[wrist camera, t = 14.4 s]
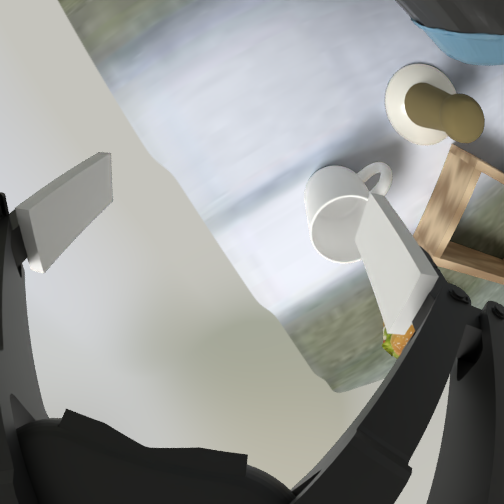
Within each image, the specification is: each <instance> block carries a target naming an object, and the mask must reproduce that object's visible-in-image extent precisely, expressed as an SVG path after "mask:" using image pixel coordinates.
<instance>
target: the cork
mask: <svg viewBox="0 0 504 504" xmlns="http://www.w3.org/2000/svg"><path fill="white" fill-rule="evenodd" d="M404 104H405V110H406V113H407V116H408V117H409V118H410V120H411V121H412V122H413V123H415V124H416V125H418V126H421V127H424V128H429V129H434V130H439V131H444V132H445V133H446V134H447V135H448V136H449V137H450V138H451V139H453V140H455V141H457V142H460V143H471V142H473V141H475V140H476V139H477V138H479V137H480V135H481V134H482V132H483V129H484V121H485V119H484V114H483V111H482V109H481V107H480V105H479V104H478V103H477V102H476V101H475V100H474V99H473V98H471V97H470V96H468V95H465V94H458V93H457V94H453V95H451V94H449V93H447V92H445V91H443V90H441V89H439V88H437V87H435V86H433V85H430V84H428V83H417V84H414V85H413V86H412V87H410V88H409V90H408V91H407V93H406V96H405V100H404Z"/></svg>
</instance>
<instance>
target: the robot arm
mask: <svg viewBox="0 0 504 504" xmlns="http://www.w3.org/2000/svg"><path fill="white" fill-rule="evenodd" d="M395 1H396V2H397V3H398V4H399V5H400V6H401V7H402V8H403V9H404V10H405V11H406V12H407V14H408V15H409V16H410V17H411V20H412V22H413V23H414V24H415V25H416V26H418V27H419V28H421V29H423V30H424V31H425V32H426V34H427V35H428V36H429V37H430V38H431V39H432V40H433V41H434V43H435V44H436V45H437V46H438V47H439V48H440V50H441V51H443V52H444V53H445V54H446V55H448V56H449V57H451V58H453V59H456V60H459V61H461V62H463V63H467V64H472V65H484V66H491V65H503V64H504V0H395ZM112 202H113V193H112V168H111V153H104V152H98V153H97V154H95V155H93V156H92V157H90V158H88V159H87V160H85V161H83V162H82V163H80V164H78V165H77V166H75V167H74V168H72V169H70V170H69V171H67V172H66V173H64V174H63V175H61V176H60V177H58V178H56V179H55V180H54V181H52V182H51V183H49V184H48V185H46V186H45V187H43V188H42V189H40V190H39V191H38V192H36V193H35V194H34V195H32V196H31V197H29V198H28V199H26V200H25V201H24V202H22V203H21V204H20V205H18V206H17V207H16V208H15V210H14V211H12V212H11V213H10V214H9V212H8V207H7V202H6V196H5V194H4V193H0V504H394V503H395V501H396V499H397V498H398V496H399V495H400V493H401V492H402V490H403V488H404V487H405V485H406V483H407V482H408V480H409V478H410V476H411V473H412V468H411V467H410V466H408V462H409V460H410V458H411V456H412V454H413V452H414V451H415V449H416V447H417V445H418V443H419V441H420V440H421V438H422V436H423V434H424V432H425V430H426V428H427V425H428V424H429V422H430V419H431V417H432V415H433V413H434V411H435V409H436V406H437V404H438V402H439V399H440V397H441V395H442V392H443V390H444V387H445V385H446V382H447V379H448V377H449V374H450V385H449V395H448V405H447V412H446V419H445V425H444V431H443V437H442V443H441V448H440V453H439V458H438V462H437V467H436V471H435V475H434V479H433V483H432V487H431V490H430V494H429V497H428V500H427V504H504V307H503V306H502V305H501V304H498V303H497V302H494V301H488V302H487V303H486V305H485V306H484V308H483V309H482V310H481V309H478V308H476V307H473V306H471V300H470V298H469V296H468V295H467V294H466V293H465V292H464V291H463V290H462V289H461V288H459V287H457V286H455V285H452V284H448V283H447V281H446V280H445V278H444V276H443V275H442V273H441V272H440V270H439V269H438V268H437V265H436V264H435V262H434V261H433V259H432V258H431V256H430V255H429V253H428V252H427V251H425V250H424V249H423V248H422V247H421V246H419V245H418V243H417V242H416V240H415V239H414V237H413V236H412V234H411V233H410V231H409V230H408V228H407V227H406V226H405V224H404V223H403V221H402V220H401V219H400V217H399V216H398V214H397V213H396V212H395V210H394V209H393V207H392V206H391V205H390V203H389V202H388V201H387V199H386V198H385V197H384V196H383V195H379V194H375V193H371V192H370V194H369V198H368V201H367V204H366V207H365V210H364V213H363V216H362V219H361V222H360V225H359V228H358V231H357V233H356V236H355V239H354V240H355V243H356V245H357V248H358V250H359V253H360V255H361V258H362V261H363V263H364V266H365V269H366V271H367V274H368V277H369V280H370V283H371V285H372V288H373V291H374V294H375V297H376V300H377V303H378V306H379V309H380V312H381V315H382V318H383V321H384V324H385V327H386V330H387V334H400V335H405V333H406V332H407V330H408V329H409V327H410V325H411V324H413V327H414V329H415V332H414V333H413V335H412V336H411V338H410V339H409V341H408V342H407V344H406V345H405V347H404V348H403V350H402V353H401V355H400V356H399V358H398V359H397V361H396V362H395V364H394V366H393V367H392V369H391V370H390V372H389V373H388V375H387V376H386V378H385V379H384V381H383V382H382V384H381V385H380V387H379V388H378V389H377V391H376V392H375V393H374V395H373V396H372V398H371V399H370V400H369V402H368V403H367V405H366V406H365V407H364V409H363V410H362V411H361V412H360V414H359V415H358V416H357V418H356V419H355V421H354V422H353V423H352V424H351V425H350V427H349V428H348V429H347V430H346V432H345V433H344V434H343V435H342V436H341V438H340V439H339V440H338V441H337V442H336V444H335V445H334V446H333V447H332V448H331V449H330V450H329V452H328V453H327V454H326V455H325V456H324V457H323V459H321V461H320V462H319V463H318V464H317V465H316V466H315V467H314V468H313V469H312V470H311V471H310V472H309V473H308V474H307V475H306V476H305V477H304V478H303V479H302V480H301V481H299V482H298V483H297V484H296V485H295V486H294V487H293V488H292V489H291V490H289V489H288V488H287V487H286V486H285V485H284V484H283V483H281V482H280V481H279V480H277V479H276V478H274V477H273V476H271V475H269V474H268V473H266V472H264V471H262V470H260V469H257V468H255V467H252V466H250V465H247V456H248V455H245V454H238V453H230V452H223V451H217V450H211V449H205V448H149V447H145V446H143V445H141V444H139V443H137V442H136V441H134V440H132V439H130V438H128V437H127V436H125V435H123V434H122V433H120V432H118V431H117V430H115V429H113V428H112V427H110V426H109V425H107V424H105V423H103V422H100V421H97V420H94V419H92V418H89V417H86V416H84V415H81V414H78V413H76V412H73V411H71V410H68V409H66V411H65V413H64V415H63V417H62V418H49V417H48V415H47V414H46V411H45V409H44V405H43V402H42V398H41V393H40V389H39V385H38V381H37V375H36V371H35V365H34V360H33V354H32V348H31V341H30V335H29V326H28V317H27V306H26V293H25V272H24V268H23V265H22V262H23V261H24V260H25V259H26V258H27V259H28V262H29V265H30V269H31V270H33V271H36V272H40V273H45V272H46V271H47V270H48V269H49V267H50V266H51V265H52V264H53V263H54V262H55V260H56V259H57V258H58V257H59V256H60V255H61V254H62V253H63V252H64V251H65V249H66V248H67V247H68V246H69V245H70V244H71V243H72V242H73V241H74V240H75V239H76V237H77V236H78V235H79V234H80V233H81V232H82V231H83V230H84V229H85V228H86V227H87V226H88V225H89V224H90V223H91V222H92V221H93V220H94V219H95V218H96V217H97V216H98V215H99V214H100V213H101V212H102V211H103V210H104V209H105V208H106V207H107V206H108V205H109V204H110V203H112Z"/></svg>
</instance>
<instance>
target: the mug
mask: <svg viewBox="0 0 504 504" xmlns="http://www.w3.org/2000/svg"><path fill="white" fill-rule="evenodd" d="M376 173H381V176H380V179H379V181H378V183H377V184H376V185H375V187H374V188H373V189H372V190H371V191H369V190H368V188H367V187H366V185H365V184H364V183H365V182H366V181H367V180H368V179H369V178H370V177H372V176H373V175H374V174H376ZM391 183H392V171H391V169H390V167H389V166H388V165H387V164H385V163H383V162H375V163H372V164H370V165H368V166H366V167H365V168H363V169H362V170H361V171H360V172H358V173H357V174H356V173H355V172H353V171H352V170H350V169H348V168H346V167H343V166H336V165H334V166H327V167H324V168H322V169H320V170H318V171H317V172H315V173H314V174H313V175H312V176H311V177H310V179H309V180H308V182H307V184H306V187H305V191H304V202H305V208H306V214H307V220H308V227H309V233H310V239H311V242H312V245H313V246H314V248H315V250H316V251H317V252H318V253H319V254H320V255H321V256H323V257H324V258H326V259H327V260H330V261H332V262H336V263H353V262H357V261H360V260H362V258H361V255H360V253H359V250H358V248H357V245H356V243H355V240H354V239H355V236H356V233H357V231H358V228H359V225H360V222H361V219H362V216H363V213H364V210H365V207H366V204H367V201H368V198H369V194H370V192H371V193H375V194H379V195H383V196H385V195H386V193H387V192H388V190H389V188H390V186H391Z"/></svg>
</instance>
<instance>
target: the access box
mask: <svg viewBox="0 0 504 504" xmlns="http://www.w3.org/2000/svg"><path fill="white" fill-rule="evenodd" d="M481 172H483V173H485V174H487V175H488V176H490V177H492V178H494V179H495V180H497V181H499V182H501V183H502V184H504V173H503V172H502V171H500V170H499V169H497V168H495V167H494V166H492V165H490V164H488V163H487V162H485V161H483V160H481V159H480V158H478V157H476V156H474V155H472V154H471V153H469V152H467V151H465V150H463V149H461V148H459V147H457V146H455V145H453V144H452V145H451V148H450V150H449V153H448V156H447V158H446V161H445V164H444V166H443V169H442V171H441V174H440V176H439V179H438V181H437V184H436V186H435V189H434V191H433V193H432V196H431V198H430V200H429V202H428V205H427V207H426V209H425V211H424V214H423V216H422V218H421V220H420V222H419V224H418V226H417V229H416V231H415V233H414V235H413V237H414V239H415V240H416V242H417V243H418V245H419V246H421V247H422V248H423V249H424V250H425V251H427V252H428V253H429V255H430V256H431V258H432V259H433V261H434V262H435V264H436V265H437V266H440V267H443V268H447V269H451V270H454V271H458V272H461V273H465V274H469V275H472V276H476V277H479V278H483V279H486V280H489V281H493V282H496V283H500V284H503V285H504V258H503V260H502V259H499V258H496V257H494V256H491V255H488V254H485V253H483V252H480V251H477V250H474V249H471V248H469V247H466V246H463V245H460V244H457V243H454V242H451V241H450V239H451V237H452V235H453V233H454V231H455V229H456V227H457V225H458V223H459V221H460V219H461V217H462V215H463V212H464V210H465V208H466V206H467V204H468V202H469V199H470V197H471V195H472V193H473V190H474V188H475V186H476V183H477V181H478V179H479V176H480V174H481Z"/></svg>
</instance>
